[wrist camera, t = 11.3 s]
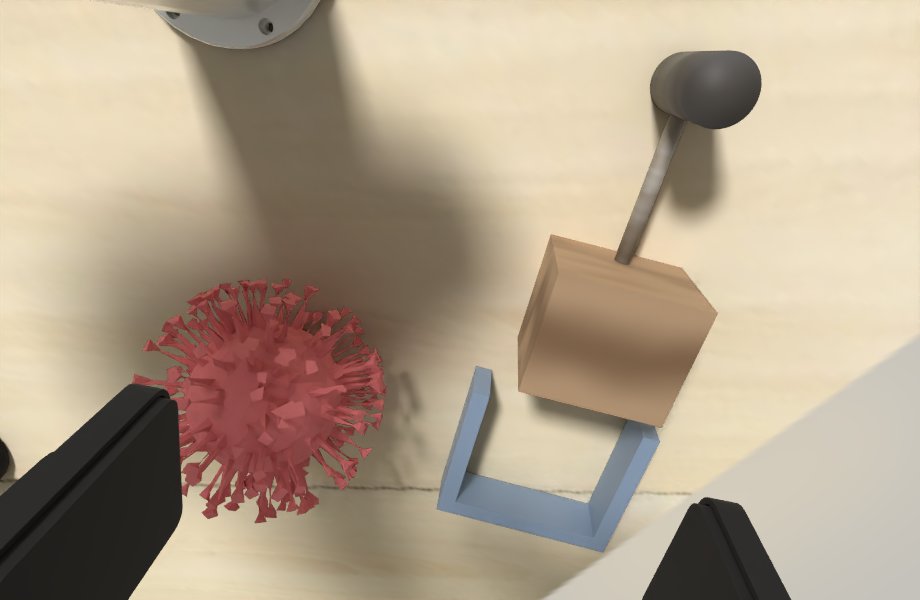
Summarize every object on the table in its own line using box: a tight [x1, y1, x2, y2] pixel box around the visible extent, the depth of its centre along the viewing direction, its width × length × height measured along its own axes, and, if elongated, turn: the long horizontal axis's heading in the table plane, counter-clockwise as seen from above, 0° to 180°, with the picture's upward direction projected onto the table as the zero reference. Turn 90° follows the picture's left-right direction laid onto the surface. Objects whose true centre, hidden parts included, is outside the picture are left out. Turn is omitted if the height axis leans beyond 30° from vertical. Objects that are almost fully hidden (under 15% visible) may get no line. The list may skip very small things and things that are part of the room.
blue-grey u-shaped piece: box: [437, 366, 660, 552], centre depth 41 cm, size 11×13×4 cm
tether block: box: [518, 51, 761, 428], centre depth 32 cm, size 20×9×7 cm, turn 167°
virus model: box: [132, 279, 386, 523], centre depth 34 cm, size 15×15×15 cm
